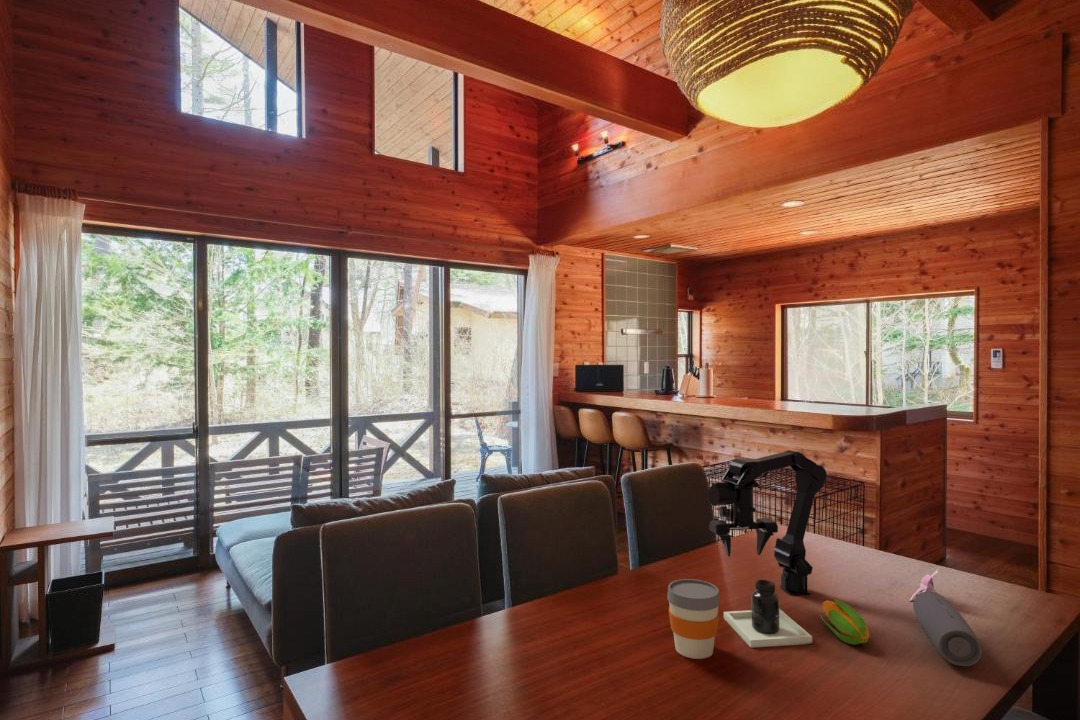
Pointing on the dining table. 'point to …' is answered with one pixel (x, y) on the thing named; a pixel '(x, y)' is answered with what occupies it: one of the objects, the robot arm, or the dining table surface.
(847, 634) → the corn
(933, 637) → the bluetooth speaker
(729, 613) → the tray
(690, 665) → the dining table surface
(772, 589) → the supplement bottle
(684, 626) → the reusable coffee cup
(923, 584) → the lily
